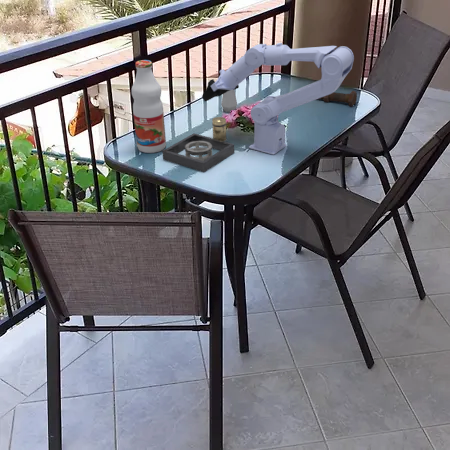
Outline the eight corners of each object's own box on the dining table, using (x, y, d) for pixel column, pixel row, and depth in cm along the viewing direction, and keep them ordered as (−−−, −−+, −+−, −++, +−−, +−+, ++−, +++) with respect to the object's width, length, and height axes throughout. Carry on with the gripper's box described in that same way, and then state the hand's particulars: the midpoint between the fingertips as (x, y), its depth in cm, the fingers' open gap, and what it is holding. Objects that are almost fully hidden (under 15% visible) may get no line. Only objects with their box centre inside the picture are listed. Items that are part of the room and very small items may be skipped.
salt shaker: (235, 113, 215) (235, 78, 208) (220, 112, 216) (219, 78, 209) (238, 107, 220) (238, 73, 213) (223, 107, 221) (222, 73, 214)
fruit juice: (171, 143, 194) (164, 59, 179) (158, 155, 187) (150, 68, 172) (145, 139, 197) (137, 56, 182) (132, 151, 190) (121, 65, 175)
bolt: (317, 103, 227) (354, 108, 221) (312, 100, 223) (351, 105, 216) (320, 88, 227) (358, 92, 220) (316, 85, 222) (354, 89, 216)
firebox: (234, 152, 187) (234, 142, 185) (204, 172, 176) (203, 162, 174) (194, 141, 195) (193, 132, 193) (163, 159, 184) (162, 149, 182)
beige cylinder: (229, 138, 197) (228, 118, 193) (221, 143, 193) (220, 123, 190) (218, 135, 199) (217, 115, 195) (210, 140, 196) (209, 120, 192)
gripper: (243, 57, 187) (216, 80, 197) (217, 66, 177) (190, 90, 186) (255, 76, 188) (228, 98, 197) (230, 86, 177) (203, 109, 186)
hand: (210, 95), depth 191 cm, fingers open, 7 cm apart
